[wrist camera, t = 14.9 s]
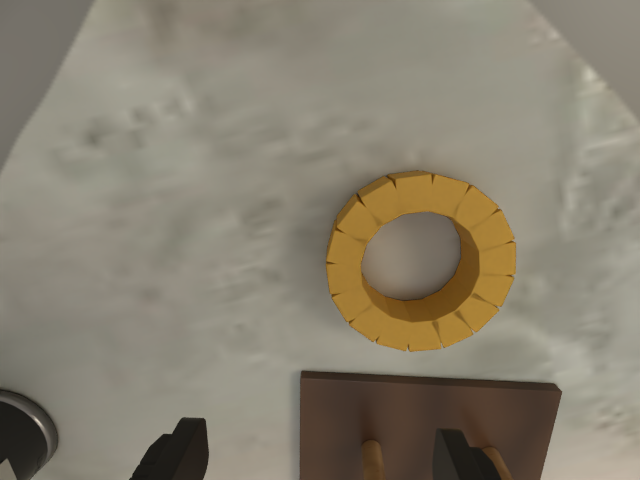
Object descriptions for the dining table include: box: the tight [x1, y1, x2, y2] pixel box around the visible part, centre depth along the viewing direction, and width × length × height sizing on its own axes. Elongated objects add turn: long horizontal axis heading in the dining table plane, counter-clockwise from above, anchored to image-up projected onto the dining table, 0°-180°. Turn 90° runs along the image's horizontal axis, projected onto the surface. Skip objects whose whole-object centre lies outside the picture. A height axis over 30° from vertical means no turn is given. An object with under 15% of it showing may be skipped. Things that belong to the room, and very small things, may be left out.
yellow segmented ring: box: [326, 170, 516, 352], centre depth 25 cm, size 13×13×4 cm
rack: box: [300, 371, 562, 480], centre depth 28 cm, size 22×14×6 cm, turn 89°
